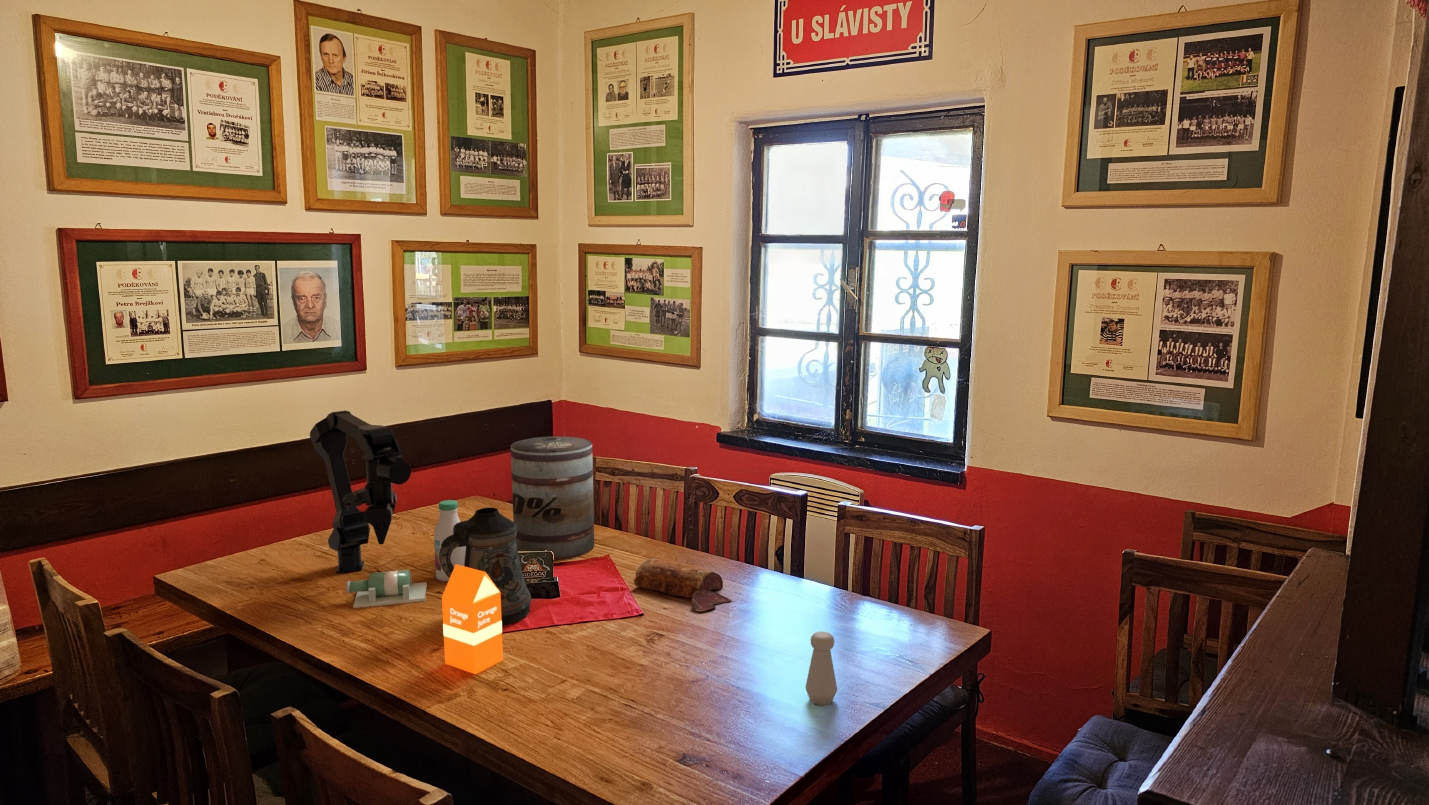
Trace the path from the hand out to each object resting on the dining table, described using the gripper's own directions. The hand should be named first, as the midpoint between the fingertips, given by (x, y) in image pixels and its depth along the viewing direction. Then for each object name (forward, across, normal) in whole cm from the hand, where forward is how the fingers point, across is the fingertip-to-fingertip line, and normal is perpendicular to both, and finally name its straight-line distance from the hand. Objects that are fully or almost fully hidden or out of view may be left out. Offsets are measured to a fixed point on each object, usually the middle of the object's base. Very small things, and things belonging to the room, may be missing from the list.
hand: (382, 538), depth 221 cm
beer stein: (+12, +28, +25) cm, 40 cm away
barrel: (+12, -18, +44) cm, 49 cm away
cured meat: (+13, +26, +72) cm, 77 cm away
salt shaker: (+12, +85, +83) cm, 119 cm away
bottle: (+11, +9, -1) cm, 14 cm away
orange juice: (+12, +51, +21) cm, 57 cm away
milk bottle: (+12, -1, +16) cm, 20 cm away
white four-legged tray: (+12, +9, +2) cm, 15 cm away
